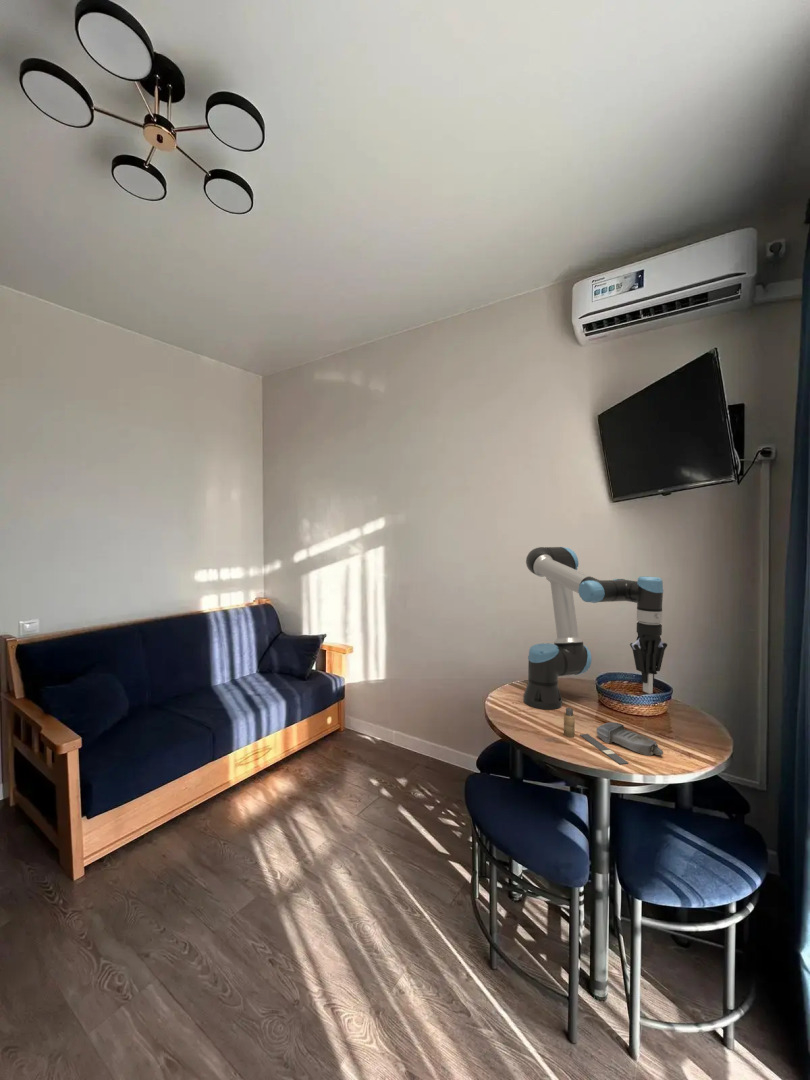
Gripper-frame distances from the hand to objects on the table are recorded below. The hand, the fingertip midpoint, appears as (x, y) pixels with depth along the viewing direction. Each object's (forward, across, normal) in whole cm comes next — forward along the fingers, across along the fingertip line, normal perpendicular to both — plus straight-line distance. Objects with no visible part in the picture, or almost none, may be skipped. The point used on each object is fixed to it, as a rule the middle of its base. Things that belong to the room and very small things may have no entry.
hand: (647, 692), depth 151 cm
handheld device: (+17, -8, -3) cm, 19 cm away
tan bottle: (+16, -24, +8) cm, 30 cm away
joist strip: (+16, -19, -3) cm, 25 cm away
